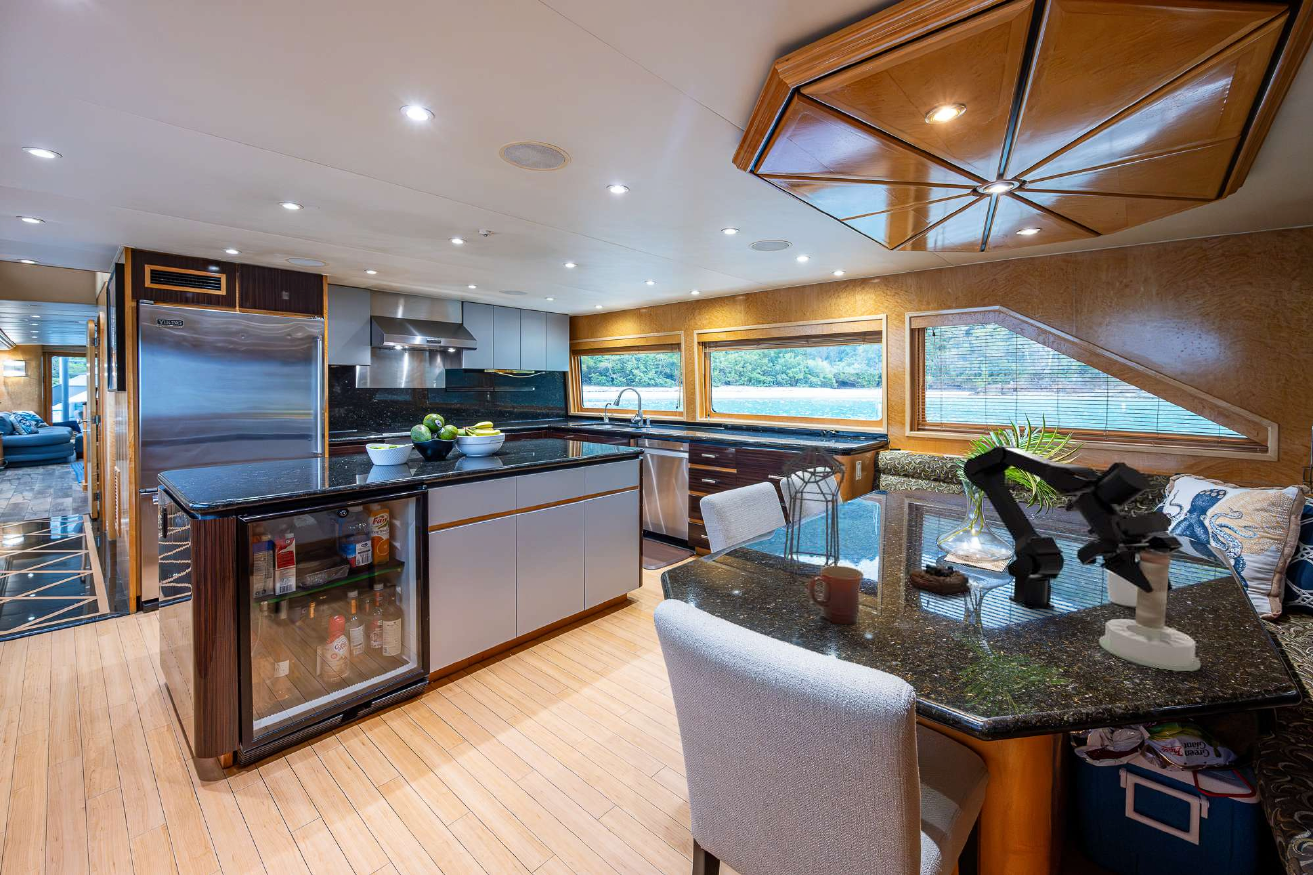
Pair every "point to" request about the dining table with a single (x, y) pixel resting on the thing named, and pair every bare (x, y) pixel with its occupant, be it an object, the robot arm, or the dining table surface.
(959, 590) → the pastry
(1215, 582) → the dining table surface
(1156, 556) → the pin
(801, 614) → the dining table surface
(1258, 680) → the dining table surface
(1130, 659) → the white round base
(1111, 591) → the shot glass
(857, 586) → the mug
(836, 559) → the geometric lantern
